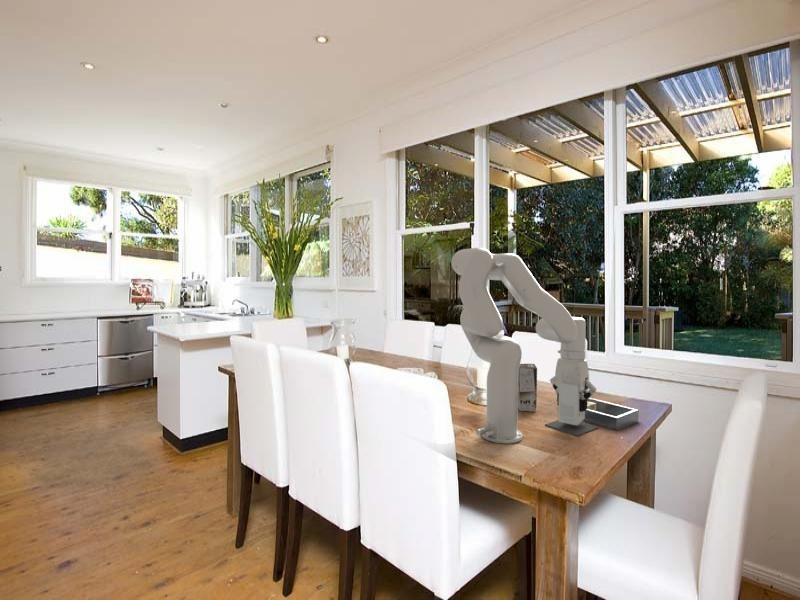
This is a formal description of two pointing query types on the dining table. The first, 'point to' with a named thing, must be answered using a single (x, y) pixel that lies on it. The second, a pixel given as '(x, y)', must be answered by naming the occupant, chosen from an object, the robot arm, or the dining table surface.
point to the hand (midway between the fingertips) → (571, 407)
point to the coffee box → (527, 387)
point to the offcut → (591, 406)
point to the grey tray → (622, 414)
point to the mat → (572, 427)
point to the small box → (569, 404)
